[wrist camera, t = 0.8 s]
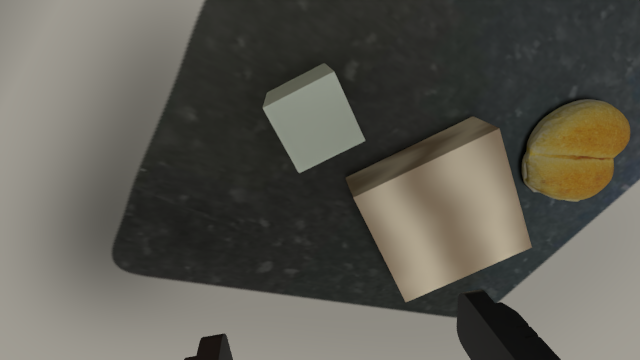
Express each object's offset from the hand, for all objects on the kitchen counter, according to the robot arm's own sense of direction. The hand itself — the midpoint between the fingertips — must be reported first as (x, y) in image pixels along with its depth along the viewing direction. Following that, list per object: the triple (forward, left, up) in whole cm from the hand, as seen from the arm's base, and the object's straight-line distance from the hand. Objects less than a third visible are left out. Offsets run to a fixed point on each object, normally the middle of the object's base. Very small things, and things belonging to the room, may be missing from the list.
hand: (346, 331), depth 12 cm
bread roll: (-21, +11, -20) cm, 31 cm away
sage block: (-2, -3, -20) cm, 20 cm away
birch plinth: (-8, +10, -19) cm, 23 cm away
